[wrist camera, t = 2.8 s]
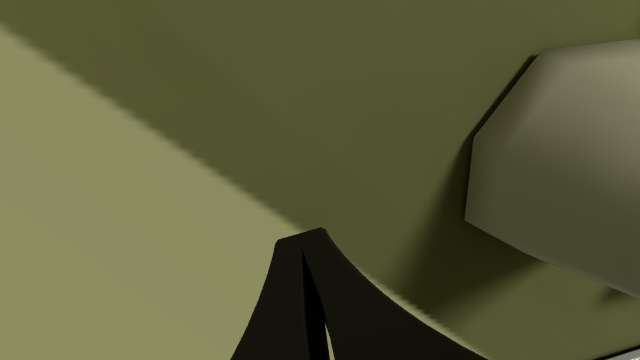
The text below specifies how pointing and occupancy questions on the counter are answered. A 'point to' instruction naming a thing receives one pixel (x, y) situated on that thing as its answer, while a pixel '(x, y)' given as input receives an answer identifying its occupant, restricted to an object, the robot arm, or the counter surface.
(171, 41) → the counter surface
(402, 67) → the counter surface
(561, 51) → the flask
